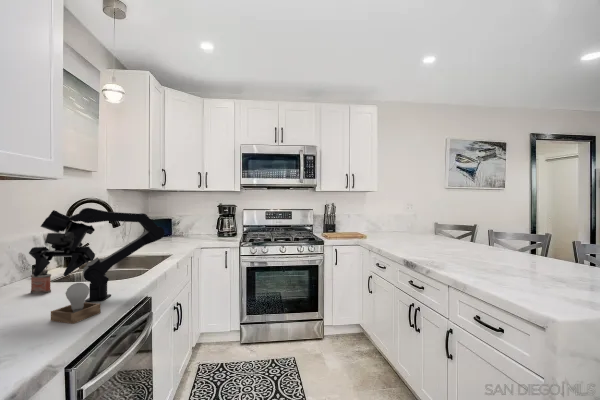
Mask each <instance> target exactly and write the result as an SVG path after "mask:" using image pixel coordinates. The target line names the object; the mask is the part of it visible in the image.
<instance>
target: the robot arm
mask: <svg viewBox="0 0 600 400" xmlns="http://www.w3.org/2000/svg"><path fill="white" fill-rule="evenodd" d="M82 222H83V223H82ZM102 222H120V223H121V222H125V223H126V222H128V223H139V224H140V225H141V226H142V228H143V229H144V230H145V231H144V232H142V233H141V234H140V236H139V237H138V238H136V239H133V240H132V241H131V242H129V243H127V244H126V245H124V246H122V247H121V248H119V249H117V250H116V251H115V252H113V253H111V254H110V255H108V256H107V257H104V258H101V259H99V258H98V257H96V254H95V253H94V251H93V249H91V247H90V246H83V243H82V242H83V239H85V236H86V234H87V235H92V234H93V233H94V232H95V228H94V226H93V225H92V224H95V223H102ZM88 224H91V225H88ZM40 227H41V228H43V229H46V230H49V231H51V233H50V232H49V233H47V234H46V238H45V240H44V243H45V244H48V245H51V246H50V247H51V248H52V249H54V250H50V249H48V247H46V246H34V247H32V248H31V249H30V250H29V251H28V254H29V255H30V256H31V257H32V258H33V259H34V260H35V266H34V269H35V270H34V272H33V274H34V276H35V277H37V276H38V275H39V274H40V273H41V272H42V271H43V270H44V269H47V267H48V266H49V265H50V263H51V262H50V261H51V260H53V258H54V257H63V258H65V257H66V258H69V257H70V258H71V259H70V261H69V263H68V264H67V267H66V268H65V269H64V272H63V276H64V277H67V276H69V275H70V274H71V273H73V272H74V271H75V270H77V269H79V268H81V267H82V266H83V265H85V264H86V265H85V266H84V268H82V276H83V278H84V280H85V281H87V282H89V285H88V287H89V294H88V297H87V298H86V299H85V302H100V301H105V300H106V299H108V298H110V297H111V296H112V294H111V293H108V283H109V277H108V275H107V272H108V271H110V269H111V268H113V266H115V265H116V264H118V263H119V262H121V261H123V260H125V259H126V258H127V257H129V256H131V255H132V254H133V253H135V252H137V251H138V250H139V249H141V248H143V247H144V246H146V245H149V244H152V243H155V242H157V241H159V240H161V239H163V238H164V236H165V229H164V228H163V227H161V226H158V225H157V223H155V222H154V221H153V220H152V219H151V218H150V217H149V216H148V215H147V214H146V213H144V212H143V213H136V212H135V213H134V212H119V211H118V212H116V211H107V210H101V209H96V208H91V207H83V208H82V209H81V210H80V211H79V212H78V213H76V214H72V215H70V216H68V215H66V214H63V213H60V212H59V211H57V210H55V209H54V210H52V211H51V213H50V214H49V215H48V217H46V218H45V219H44V221H43V222H42V224H41V225H40ZM67 228H68V229H67ZM65 230H66V231H65ZM52 232H54V233H52ZM60 232H62V233H60ZM63 232H64V233H63ZM95 257H96V258H95Z"/></svg>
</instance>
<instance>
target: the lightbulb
mask: <svg viewBox="0 0 600 400" xmlns="http://www.w3.org/2000/svg"><path fill="white" fill-rule="evenodd" d="M65 296H66V299H67V300H68V302H69V303H70V305H71V307H72V310H73V313H75V312H77V311H80V310H83V307H84V302H85V300H86V299H88V297H89V285H87V284H86V283H84V282H75V283H73V284H71V285H70V286H68V288H67V289H66V291H65Z"/></svg>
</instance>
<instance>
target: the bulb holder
mask: <svg viewBox="0 0 600 400" xmlns="http://www.w3.org/2000/svg"><path fill="white" fill-rule="evenodd" d="M101 306H102V305H101V303H96V302H89V301H87V302H84V307H83V310H80V311H77V312H75V313H73V310H72V307H71V304H68V305H65V306H63V307H59V308H56V309H54V310H51V311H50V321H51V322H56V323H63V324H64V323H65V324H72V325H73V324H77V323H79V322H80V321H84V320H86V319H88V318H91V317H93V316H95V315H98V314H100V313H101V309H102V307H101Z"/></svg>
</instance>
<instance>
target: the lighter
mask: <svg viewBox="0 0 600 400" xmlns="http://www.w3.org/2000/svg"><path fill="white" fill-rule="evenodd" d="M34 270H35V268H33V269H32V272H33V273H32V274H30V279H31V281H30V283H31V285H30V287H31V288H30V294H36V295H44V294H45V295H46V294H50V293H52V289H51V282H52V281H51V277H52V274H51V273H48V271H49V269H47V268H45V269H44V270H43V271H42V272H41V273H40V274H39V275H38V276H37V277H35V276H34Z"/></svg>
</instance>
